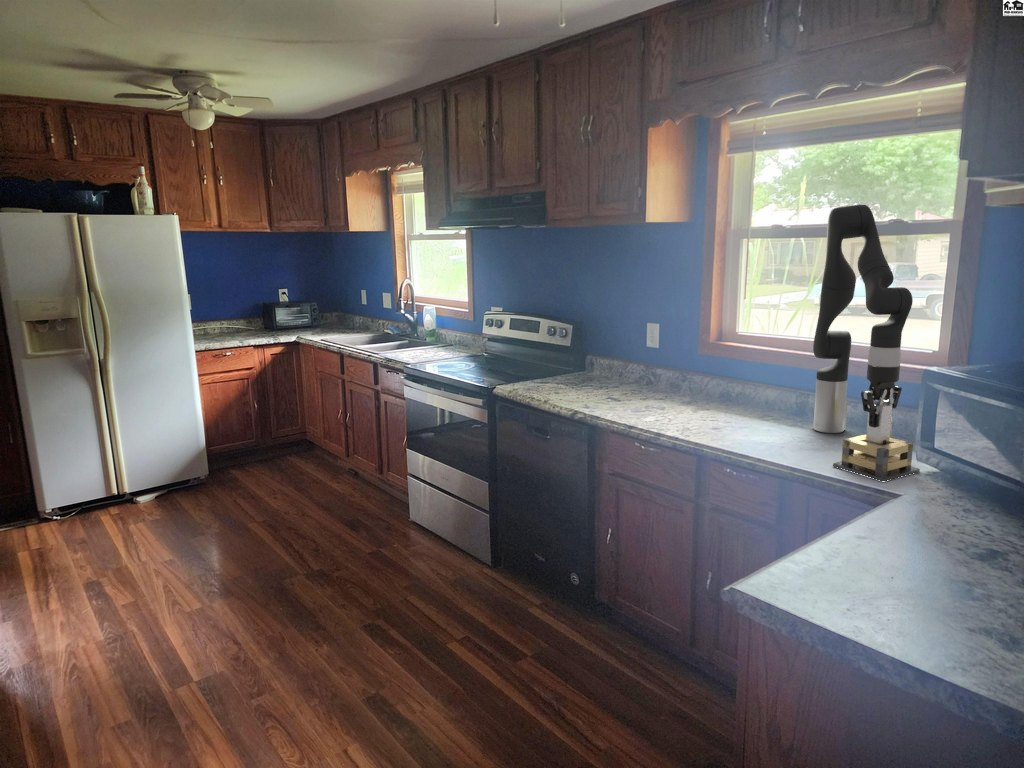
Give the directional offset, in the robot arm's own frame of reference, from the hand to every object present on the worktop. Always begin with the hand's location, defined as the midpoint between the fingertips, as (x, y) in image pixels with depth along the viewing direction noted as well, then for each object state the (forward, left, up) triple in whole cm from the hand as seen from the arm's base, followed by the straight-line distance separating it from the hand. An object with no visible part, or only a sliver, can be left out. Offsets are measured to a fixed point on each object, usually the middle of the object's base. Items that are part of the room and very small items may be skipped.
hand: (878, 425), depth 179 cm
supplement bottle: (-18, -12, -13) cm, 25 cm away
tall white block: (0, 0, -8) cm, 8 cm away
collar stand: (0, 0, -13) cm, 13 cm away
